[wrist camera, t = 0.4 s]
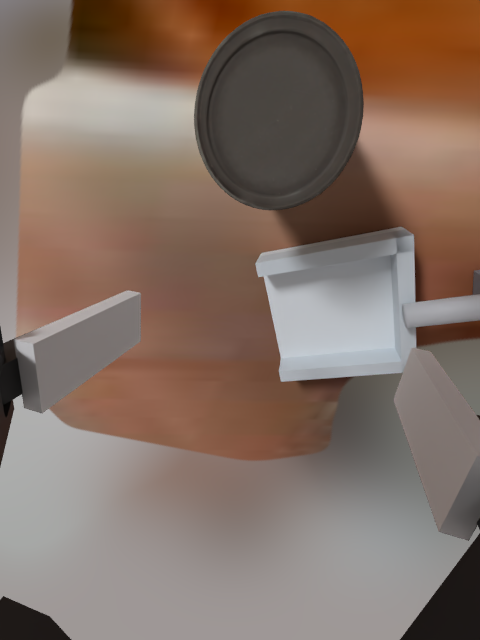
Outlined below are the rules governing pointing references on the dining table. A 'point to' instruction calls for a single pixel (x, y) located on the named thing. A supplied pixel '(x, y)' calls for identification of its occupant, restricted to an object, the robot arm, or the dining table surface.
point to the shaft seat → (352, 305)
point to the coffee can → (278, 110)
